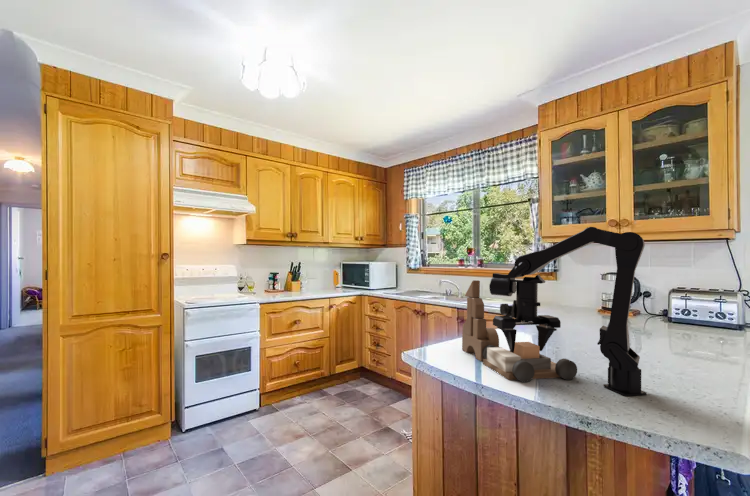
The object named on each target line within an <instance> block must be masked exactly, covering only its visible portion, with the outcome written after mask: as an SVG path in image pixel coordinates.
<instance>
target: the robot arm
mask: <svg viewBox="0 0 750 496" xmlns="http://www.w3.org/2000/svg"><path fill="white" fill-rule="evenodd" d="M594 243H596V244H600V245H603V246H606V247H607V246H608V247H611V248H614V250H615V261H616V273H615V274H616V275H615V280H614V281H615V282H614V287H613V295H612V300H611V301H612V304H611V311H610V315H609V322H608V324H607V326H606V325H601V327H600V328H599V340H598V342H597V345H599V350H600V353H601V354H602V355H603V356H604V357H605V358H606V359H608V367H607V383H604V384H603V387H604V388H606V389H608V390H610V391H612V392H615V393H618V394H620V395H622V396H625V397H628V396H629V397H632V396H644V395H645V396H646V395H648V394H647V393H648V392H647V391H644V390H642V369H641V368H640V367H639V364H640V358H641V357H640V355H639V354H637V352H636V351H634V349H632V347H631V343H630V332H629V324H628V322H629V316H630V308H631V300H632V295H633V290H634V288H633V287H634V281H635V275H636V270H637V267H638V264H639V262H640V259H641V257H642V255H643V252H644V248H645V240H644V239H643V237H642V236H641V235H640V234H638V233H636V232H633V231H626V232H623V233H618V232H614V231H610V230H606V229H601V228H597V227H595V226H589V227H588V226H587V227H586V228H584V229H583V230H582V231H579V232H577V233H576V234H573V235H571V236H568V237H567V238H565V239H562V240H561V241H559V242H557V243H554V244H553V245H550V246H548V247H546V248H544V249H542V250H537V251H533V252H529V253H526V254H522V255H519V256H517V257H516V258H515V259H514V260H515V261H514V266H512V267H513V268H512V269H510V271H509V273H508V274H503V273H497V272H495V273H492V277H491V279H490V282H489V284H488V285H489V293H490V294H491V295H493V296H500V297H501V296H503V297H512V296H513V294H516V298H515V299H513V302H512V305H509V304H508V303H500V305H499V313H500V315H495V316H494V317H493V318H492V326H494V327H496V328H497V329H498V330H501V332H502V333H503V336H504V337H505V339H506V343H507V346H508V348H509V349H508V350H509V351H511V352H514V348H515V342H516V337H517V329H515V328H516V326H535V327H536V330H537V345H538V346H540V352H542V351H543V350H544V348H545V346H546V345H547V343H548V341H549V339H550V338H551V337H552V335H553V334H554V332H555V331H558V329H560V328H561V323H562V322H561V320H560V318H559V317H556V316H553V315H548V314H544V315H543V314H541V315H538V307H541V302H540V301H538V291H539V290H538V288H539V287H538V285H539V284H545V283H546V280H545V279H543V278H542V277H541V275H540V274H536V273H538V272H539V271H541V270H542V269H544V268H545V267H547V266H548V265H549V264H550V263H552V262H553V261H556V260H558V259H560V258H562V257H564V256H567V255H568V254H571V253H573V252H575V251H577V250H580V249H582V248H583V247H586V246H588V245H591V244H594ZM534 274H536V276H530V275H534ZM528 275H529V276H528ZM516 278H517V279H516ZM518 278H522V279H518Z"/></svg>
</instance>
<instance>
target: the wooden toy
mask: <svg viewBox="0 0 750 496" xmlns="http://www.w3.org/2000/svg"><path fill="white" fill-rule="evenodd" d="M480 287H481V281H480V280H472V281H471V283H470V285H469V286H468V289H467V291H466V292H465V294H464V296H465V297H466V300H467V301H466V319H465V322H464V323H462V333H461V334H462V335H461V340H462V341H461V342H462V343H461V350H462V351H463V352H465V353H467V354H469V353H470V354H471V353H474V354H475V359H476V360H477V361H479V360H480V361H479V362H483V359H484V358H483V355H482V352H483V349H484V347H485V346H487V345H493V346H495V347H500V338H499V333H498V332H497V330H496V328H495V327H487V318H485V304H484V301H483V299H482V298H481V295H480V294H481V290H480Z"/></svg>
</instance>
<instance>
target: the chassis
mask: <svg viewBox="0 0 750 496" xmlns="http://www.w3.org/2000/svg"><path fill="white" fill-rule="evenodd" d="M482 355H483V358H484V359H483V361H482V365H484V364H485V365H484V366H486V367H487V366H488V367H487V368H489V367H490V368H491V370H492V369H493V370H492V371H494V370H495V371H496V372H495V371H494V372H495V373H497V372H498V373H499V374H498V373H497V374H498V375H500V374H501V375H500V376H501V377H503V376H504V377H503V378H504V379H506V378H507V379H506V380H508V381H514V380H515V381H517V380H518V381H520V382H522V383H528V382H530V381H531V380H532V379H533V380H535V379H553V378H561V379H564V380H566V381H571V380H573V379H575V377H576V376H577V373H578V366H577V364H576V363H575V362H574V361H572V360H570V359H567V358H561V359H559V360H557V362H554V361H552V358H550V357H548V356H546V355H543V354H541V353H540V356H539V358H528V359H522V358H521V357H520V356H518V355H516V354H514V352H511V351H510V350H509V349H506V348H503V347H501V346H499V347H495V346H493V345H487V346H485V347H484V349H483V352H482ZM490 368H489V369H490Z"/></svg>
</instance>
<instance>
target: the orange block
mask: <svg viewBox="0 0 750 496" xmlns="http://www.w3.org/2000/svg"><path fill="white" fill-rule="evenodd" d="M514 354H516V355H518V356H520V357H521V358H522V359H528V358H539V356H540V354H541V351H540V346H538V344H535V343H533V342H531V341H515V348H514Z"/></svg>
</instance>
